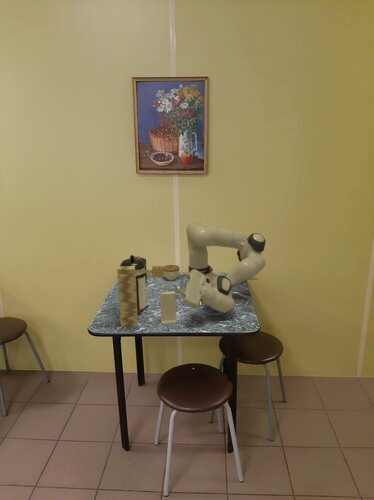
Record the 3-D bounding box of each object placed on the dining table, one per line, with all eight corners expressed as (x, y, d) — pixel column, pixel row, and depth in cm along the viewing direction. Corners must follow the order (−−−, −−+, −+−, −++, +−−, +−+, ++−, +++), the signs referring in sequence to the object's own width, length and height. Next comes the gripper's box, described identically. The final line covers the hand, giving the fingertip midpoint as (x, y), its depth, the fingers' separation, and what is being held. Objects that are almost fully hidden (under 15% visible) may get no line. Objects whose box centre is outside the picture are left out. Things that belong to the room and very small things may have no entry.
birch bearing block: (137, 319, 177) (134, 265, 169) (137, 325, 171) (134, 269, 163) (121, 320, 176) (117, 266, 168) (120, 326, 170) (117, 270, 162)
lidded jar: (182, 277, 232) (182, 264, 229) (173, 283, 223) (172, 268, 221) (169, 274, 238) (169, 261, 235) (159, 279, 229) (159, 265, 227)
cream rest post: (174, 316, 180) (174, 289, 176) (176, 324, 172) (175, 295, 168) (160, 317, 179) (160, 290, 175) (161, 324, 171) (160, 296, 167)
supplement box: (133, 281, 227) (131, 257, 222) (139, 279, 230) (138, 255, 226) (141, 284, 221) (140, 260, 216) (147, 282, 224) (146, 258, 220)
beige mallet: (162, 274, 171) (162, 266, 169) (163, 277, 167) (163, 269, 166) (124, 273, 168) (124, 265, 167) (124, 276, 164) (124, 268, 163)
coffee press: (116, 306, 192) (112, 253, 183) (145, 301, 197) (142, 249, 189) (122, 320, 176) (118, 263, 168) (153, 315, 181) (151, 259, 173)
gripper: (196, 313, 168) (171, 301, 165) (203, 281, 183) (180, 268, 179) (203, 307, 164) (178, 294, 161) (209, 274, 178) (186, 262, 175)
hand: (179, 280), depth 170 cm, fingers open, 8 cm apart
